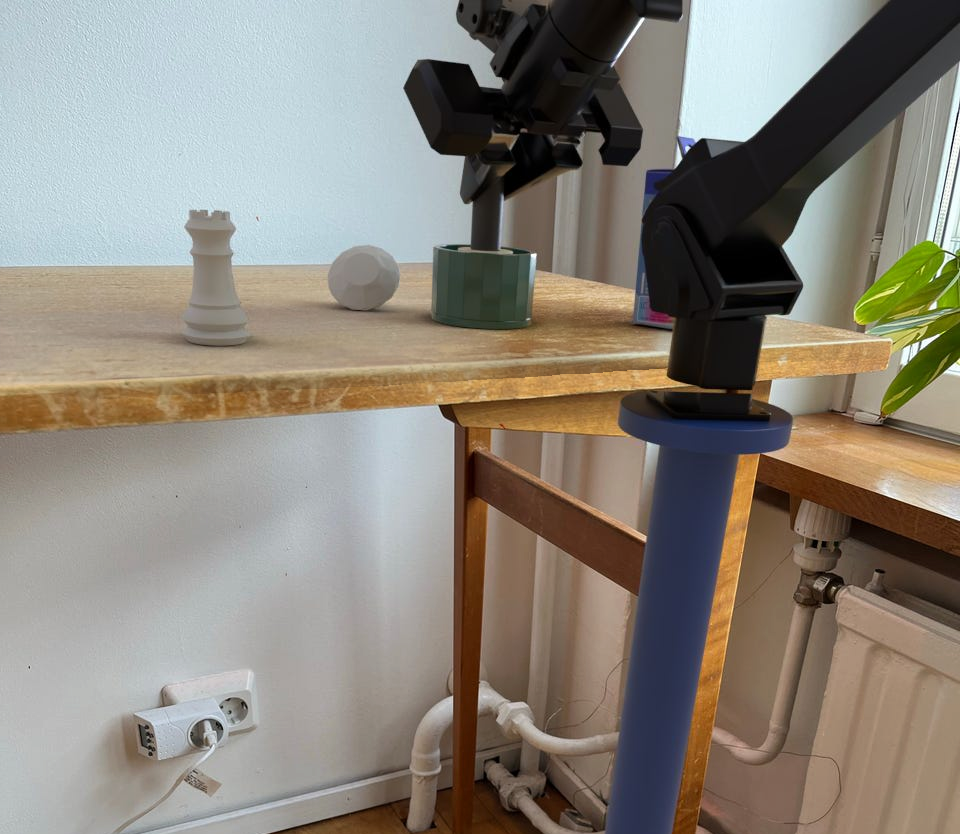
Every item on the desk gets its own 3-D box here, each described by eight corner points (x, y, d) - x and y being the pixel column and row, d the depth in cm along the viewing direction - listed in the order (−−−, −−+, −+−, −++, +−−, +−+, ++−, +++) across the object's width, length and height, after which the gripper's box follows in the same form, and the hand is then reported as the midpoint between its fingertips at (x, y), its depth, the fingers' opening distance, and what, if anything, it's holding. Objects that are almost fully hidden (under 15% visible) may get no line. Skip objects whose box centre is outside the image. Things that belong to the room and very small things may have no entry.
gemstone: (403, 268, 87) (395, 232, 82) (407, 330, 85) (400, 298, 80) (334, 275, 87) (323, 240, 82) (337, 337, 86) (326, 305, 81)
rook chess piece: (264, 340, 67) (259, 213, 63) (222, 349, 63) (215, 214, 60) (211, 332, 68) (204, 207, 65) (168, 340, 65) (157, 209, 61)
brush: (501, 294, 77) (512, 106, 71) (448, 289, 78) (455, 104, 72) (516, 289, 81) (528, 110, 75) (466, 284, 82) (474, 108, 76)
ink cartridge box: (670, 313, 91) (694, 139, 85) (727, 321, 89) (756, 142, 82) (625, 324, 83) (648, 133, 77) (686, 332, 81) (715, 136, 74)
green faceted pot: (540, 330, 78) (546, 256, 75) (436, 327, 76) (439, 251, 74) (521, 314, 85) (526, 246, 82) (426, 311, 83) (428, 242, 81)
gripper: (635, -43, 71) (528, 126, 84) (422, -92, 61) (337, 109, 74) (700, 78, 69) (580, 233, 82) (491, 49, 59) (391, 231, 72)
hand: (477, 200), depth 77 cm, fingers closed on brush, 2 cm apart
